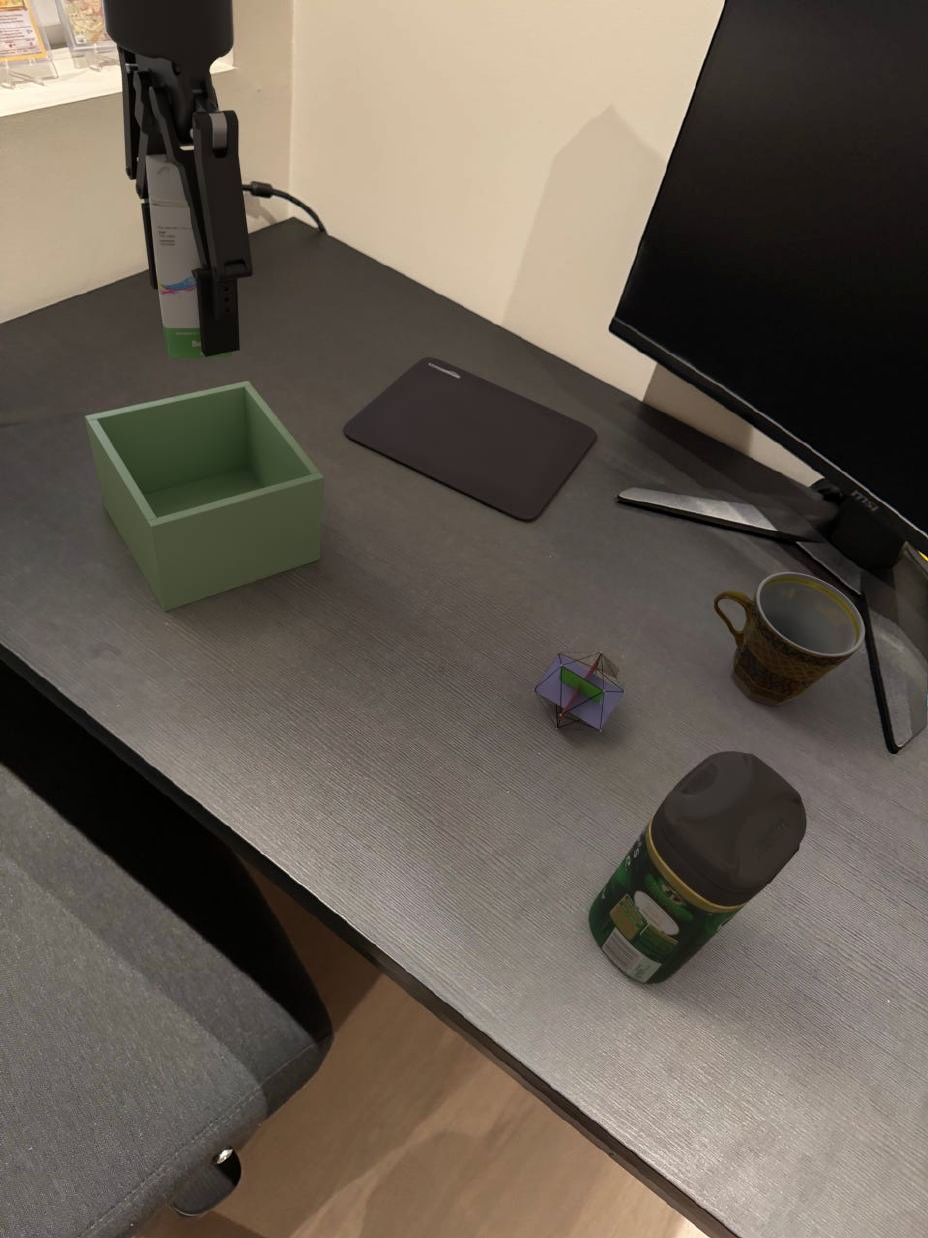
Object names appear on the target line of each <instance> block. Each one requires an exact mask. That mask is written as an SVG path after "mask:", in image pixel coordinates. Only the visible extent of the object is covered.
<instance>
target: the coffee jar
mask: <svg viewBox="0 0 928 1238" xmlns="http://www.w3.org/2000/svg"><path fill="white" fill-rule="evenodd" d="M807 824H808V819H807V812H806V808H805V805H804V802H803V799H802V796H801V794H800V792H799V791H798V790H797V789H796V788H795V787H793V786H792V785H791V784H790V783H789V782H788V781H787V780H786V779H785V778H784V777H783V776H782V775H781V774H780V773H779V772H777V771H776V770H774V769H773V768H772V767H771V766H770V765H768V764H767V763H766V762H765V761H763V760H762V759H761V758H760V757H758V756H756V754H754V753H751V752H750V753H749V752H743V751H735V750H730V751H728V750H726V751H725V750H724V751H720V752H716V753H713V754H711V755H709V756H707V757H706V758H705V759H703V760H702V761H700V763H698V764H697V765H696V766H694V767H693V768H692V769H691V770H690V771H689V772H688V773H686V774H685V775H684V776H683V777H682V778H681V779H680V780H679V781H678V782H677V783H676V784H675V785H674V787H673V788H672V789H671V790H670V792H668V793H667V795H666V796H665V798H664V799H663V800H662V802H661V803H660V804H659V805H658V807H657V808H656V810H655V811H654V813H653V815H652V816H651V818H650V819H649V820H648V822H647V824H646V825H645V827H644V828H643V830H642V831H641V833H640V835H639V836H638V837H637V838H636V840H635V842H634V843H633V845H632V846H631V847H630V849H629V850H628V852H627V853H626V855H625V856H624V857H623V859H622V861H621V862H620V864H619V865H618V866H617V868H616V869H615V871H614V872H613V874H612V875H611V876H610V877H609V879H608V881H607V882H606V883H605V884H604V886H603V887H602V889H601V890H600V892H599V893H598V895H597V896H596V898H595V899H594V900H593V902H592V904H591V905H590V908H589V912H588V926H589V930H590V932H591V935H592V937H593V939H594V941H595V942H596V944H597V945H598V947H599V948H600V949H601V950H602V952H603V954H605V955H606V957H608V959H609V960H610V961H611V962H612V963H613V964H614V965H615V966H616V967H617V968H618V969H619V970H621V971H622V972H623V973H624V974H626V976H629V978H631V979H633V980H634V981H637V982H639V983H643V984H646V985H657V984H660V983H663V982H665V981H667V980H669V979H670V978H671V977H672V976H674V975H675V974H676V973H677V972H678V971H680V970H681V969H682V968H683V967H684V966H685V965H686V964H687V963H688V962H689V961H690V960H691V959H692V958H693V957H695V955H697V953H698V952H699V951H701V950H702V948H703V947H704V946H705V945H706V944H707V943H708V942H709V941H710V940H711V939H712V938H713V937H714V936H715V935H717V934H718V933H719V932H720V931H721V930H722V929H723V928H724V927H725V926H726V925H727V924H728V923H729V922H730V921H731V920H732V919H734V917H735V916H737V914H738V913H739V912H740V911H741V910H742V909H743V908H744V907H745V906H746V905H748V904H749V903H750V901H752V900H753V899H754V898H755V897H756V896H757V895H758V894H759V893H761V892H762V890H764V889H765V888H766V887H767V886H768V885H770V884H771V883H772V882H773V881H774V880H775V878H776V877H777V876H778V875H779V874H780V872H781V871H782V870H783V869H784V868H785V867H786V865H787V864H788V863H789V862H790V861H791V860H792V859H793V857H794V856H795V855H796V854H797V853H798V852H799V851H800V847H801V844H802V841H803V840H804V837H805V835H806V832H807Z"/></svg>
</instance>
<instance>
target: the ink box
mask: <svg viewBox="0 0 928 1238" xmlns="http://www.w3.org/2000/svg"><path fill="white" fill-rule="evenodd" d="M146 169H147V182H148V192H149V203H150V214H151V225H152V236H153V245H154V256H155V265H156V274H157V281H158V289H157V290H158V297H159V305H160V313H161V320H162V327H163V328H162V329H163V334H164V335H163V336H164V342H165V350H166V356H167V357H168V358H169V359H173V360H174V359H215V358H218V359H219V358H231V357H232V352H229V353H224V354H219V355H214V356H209V357H205V355H204V354H203V353H202V350H201V337H200V324H199V311H198V298H197V285H196V279H195V278H194V277H193V275H192V272H191V270H195V269H197V268H201V264H200V259H199V255H198V251H197V247H196V242H195V238H194V234H193V230H192V225H191V218H190V207H188V204H187V201H186V200H185V195H184V191H183V187H182V183H181V178H180V174H179V170H178V168H177V167H176V166H175V165H173V164H171V162H170V161H169V159H168V156H167V154H158V155H146Z"/></svg>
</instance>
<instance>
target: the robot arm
mask: <svg viewBox="0 0 928 1238" xmlns="http://www.w3.org/2000/svg"><path fill="white" fill-rule="evenodd" d="M233 4H234V0H101V5H102V13H103V20H104V21H103V22H104V29H105V31H106V34H107V35H108V37H109V38H110V39H111V41H113V43H115V46H116V51H117V55H118V60H119V66H120V73H121V93H122V94H121V95H122V117H123V132H124V133H123V137H124V161H125V174H126V176H127V177H128V179H129V180H130V181H135V192H136V195H137V196H138V199H140V200H143V201H144V202H141V203H140V208H141V217H142V223H143V233H144V241H145V247H146V249H145V250H146V256H147V257H146V259H147V265H148V273H149V283H150V286H151V288H152V289H153V290H154V291H155V290H158V281H157V274H156V265H155V256H154V245H153V236H152V225H151V214H150V203H149V192H148V182H147V169H146V155H158V154H167V156H168V159H169V161H170V162H171V164H173V165H175V166H176V167H177V168H178V170H179V174H180V178H181V183H182V187H183V191H184V195H185V200H186V201H187V204H188V207H190V218H191V225H192V230H193V234H194V238H195V242H196V247H197V251H198V255H199V259H200V264H201V268H197V269H195V270H191V272H192V275H193V277H194V278H195V279H196V285H197V298H198V311H199V324H200V337H201V350H202V353H203V354H204V355H205V357H209V356H214V355H219V354H224V353H229V352H231V353H233V352H238V351H240V350H241V346H240V345H241V343H240V325H239V324H240V322H239V321H240V318H239V294H238V293H239V292H238V291H239V290H238V279H245V278H251V277H253V274H254V269H253V259H252V252H251V245H250V237H249V236H250V235H249V229H248V219H247V212H246V205H245V196H244V188H243V187H244V186H243V179H242V172H241V171H242V169H241V163H240V155H239V152H240V151H239V149H240V148H239V147H240V142H239V140H240V136H239V135H240V126H239V125H240V122H239V118H238V115H237V113H236V111H235V110H234V109H227V110H226V109H225V110H224V109H223V110H220V107H219V102H218V97H217V93H216V89H215V87H214V85H213V79H212V73H211V67H212V65H213V64H214V62H216V61H217V60H219V59H220V58H224V57H225V56H227V55H228V54H229V53H230V52H231V51H232V50H233V48H234V44H235V31H234V27H235V26H234V5H233ZM182 147H193V149H182Z"/></svg>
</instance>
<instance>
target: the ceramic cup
mask: <svg viewBox="0 0 928 1238" xmlns="http://www.w3.org/2000/svg"><path fill="white" fill-rule="evenodd" d="M721 600H730V601H733V602H736V603H738V604H739V605H740V606H741V608H743V609H744V613H745V623H744V625H743V627H742V630H737V629H735V627H734V626H733V624H732V622H731V620H730V618H729V617H728V616H727V615H726V614H725V612H724V611H723V610H722V609H721V607H720V606H719V602H720V601H721ZM713 608H714V610H715V612H716V614H717V615H718V616H719V618H720V619H721V620H722V621H723V622H724V623H725V625H726V626H727V629H728V631H729V632H730V634H731V635H732V636H733V638H734V641H735V645H736V648H735V650H734V653H733V656H732V659H731V667H730V679H731V678H732V679H733V680H734V681H735V682H734V681H733V680H732V679H731V680H732V681H733V682H734V684H736V683H737V685H738V686H737V685H736V686H737V687H738V688H739V689H740V691H741V690H742V691H743V692H742V691H741V692H742V693H743V695H745V696H746V698H748V699H750V700H753V701H754V702H755V701H756V702H758V703H761V704H764V705H768V706H770V707H774V708H775V707H779V706H781V705H783V704H785V703H788V702H790V701H792V700H795V699H797V697H799V696H800V695H802V694H803V693H804V692H805V691H806V690H808V689H809V688H810V687H811V686H813V685H814V684H815V683H816V682H818V681H820V680H821V679H822V678H823V677H824V676H826V675H827V674H828V673H830V672H832V671H833V670H835V669H836V668H838V667H839V666H840V665H841V664H843V663H844V662H846V661H847V660H848V659H850V658H851V657H852V655H854V654H855V653H856V652H857V651H858V650H859V649H860V648H861V647H862V645H863V643H864V640H865V635H866V628H865V624H864V620H863V618H862V616H861V613H860V612H859V610H858V609H857V607H856V606H855V604H854V603H853V602H852V601H851V600H850V599H849V598H848V597H847V596H846V595H845V594H843V592H841V591H840V590H839V589H837V588H836V587H834V586H833V585H832V584H830V583H828V582H826V581H824V580H822V579H819V578H818V577H816V576H815V577H814V576H812V575H808V574H805V573H801V572H795V571H794V572H793V571H783V572H777V573H774V574H771V575H769V576H767V577H765V578H764V579H763V580H762V581H761V582H760V583H759V585H758V586H757V588H756V590H755V593H754V596H753V598H752V599H750V598H749V597H748V596H747V594H745V593H743V592H741V591H739V590H732V589H731V590H725V591H722V592H720V593H719V594H718V595H717V596H716V597H715V598H714V600H713Z"/></svg>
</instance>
